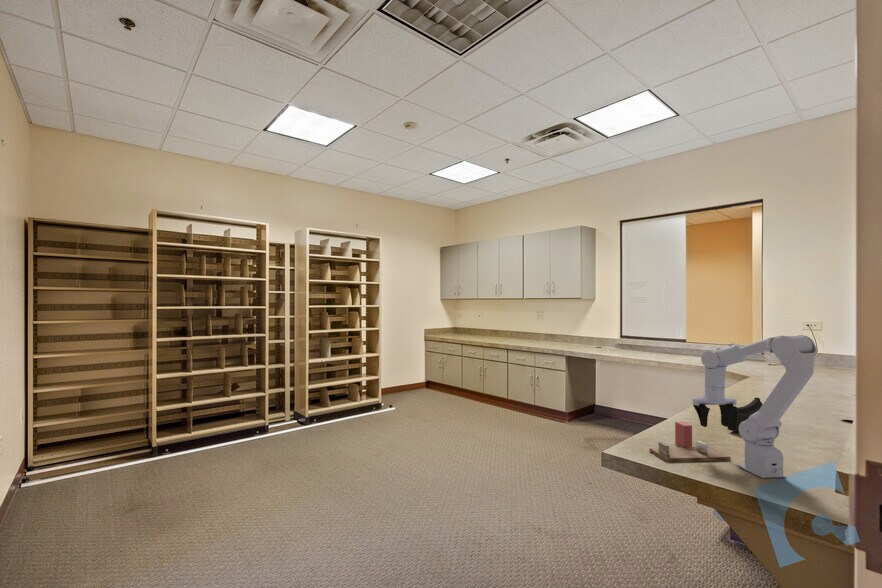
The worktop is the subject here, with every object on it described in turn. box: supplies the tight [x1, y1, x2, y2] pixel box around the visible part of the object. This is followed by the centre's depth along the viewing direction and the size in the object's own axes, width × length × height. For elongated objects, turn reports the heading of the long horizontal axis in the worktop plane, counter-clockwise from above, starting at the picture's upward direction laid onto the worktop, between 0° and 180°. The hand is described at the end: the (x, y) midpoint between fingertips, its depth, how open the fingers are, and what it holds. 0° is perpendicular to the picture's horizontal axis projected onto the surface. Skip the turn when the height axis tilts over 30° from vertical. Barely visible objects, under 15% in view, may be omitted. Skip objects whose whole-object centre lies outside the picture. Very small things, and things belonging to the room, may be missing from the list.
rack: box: [649, 441, 732, 463], centre depth 146 cm, size 22×10×4 cm, turn 95°
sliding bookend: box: [695, 440, 709, 453], centre depth 146 cm, size 1×4×3 cm, turn 5°
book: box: [674, 421, 693, 447], centre depth 156 cm, size 5×3×8 cm, turn 6°
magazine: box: [727, 396, 764, 432], centre depth 180 cm, size 17×3×30 cm
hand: (714, 426), depth 147 cm, fingers open, 7 cm apart
